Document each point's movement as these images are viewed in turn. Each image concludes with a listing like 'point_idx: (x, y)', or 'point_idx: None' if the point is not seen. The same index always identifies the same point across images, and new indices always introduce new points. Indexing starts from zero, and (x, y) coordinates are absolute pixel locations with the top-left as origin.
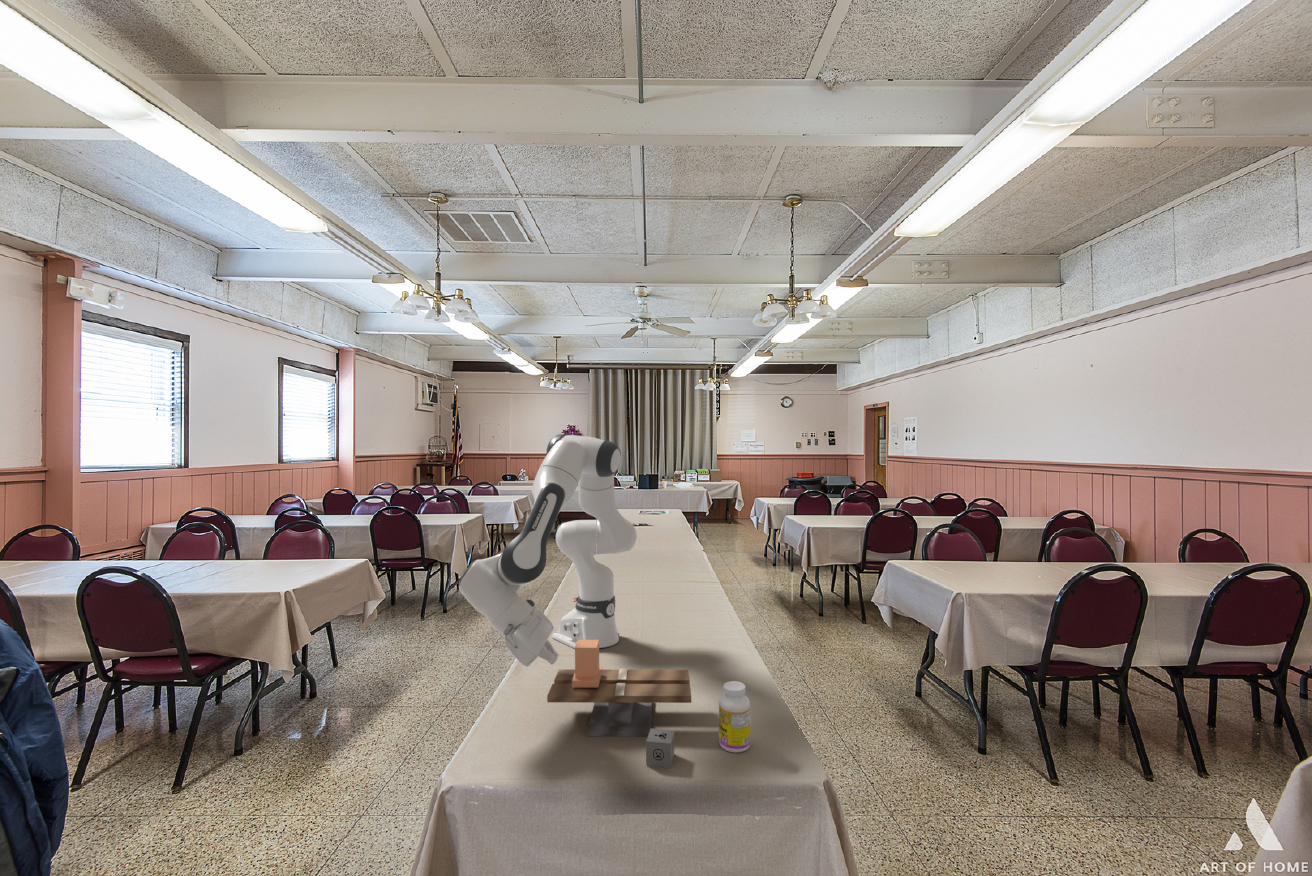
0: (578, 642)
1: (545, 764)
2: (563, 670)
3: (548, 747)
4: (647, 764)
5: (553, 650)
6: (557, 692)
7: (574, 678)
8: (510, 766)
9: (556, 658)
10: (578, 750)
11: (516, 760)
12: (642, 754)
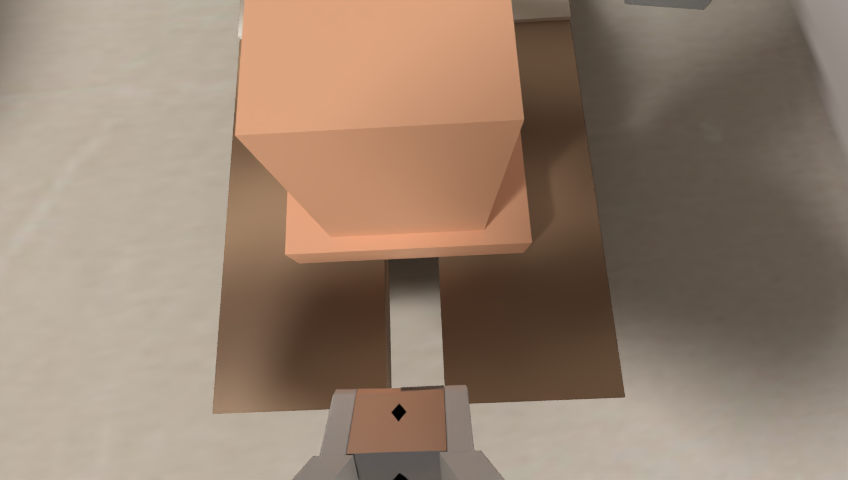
0: (333, 113)
1: (774, 333)
2: (232, 375)
3: (657, 350)
4: (706, 3)
5: (348, 459)
6: (570, 339)
7: (492, 232)
8: (822, 476)
9: (447, 389)
10: (657, 230)
11: (776, 463)
12: (643, 25)
